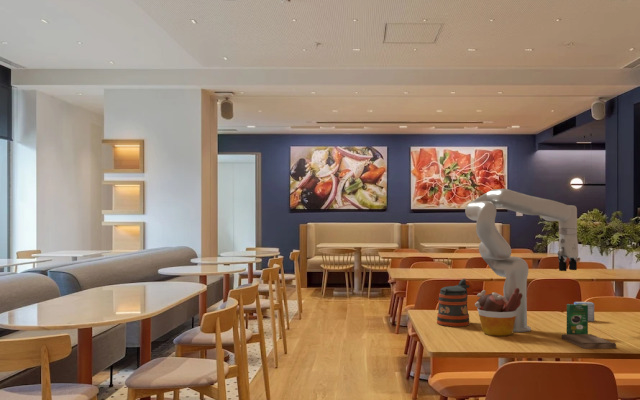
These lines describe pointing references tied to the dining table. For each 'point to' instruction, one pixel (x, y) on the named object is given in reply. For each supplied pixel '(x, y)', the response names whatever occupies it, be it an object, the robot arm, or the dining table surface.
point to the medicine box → (590, 309)
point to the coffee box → (577, 319)
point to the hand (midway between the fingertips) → (567, 270)
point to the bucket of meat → (498, 312)
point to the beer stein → (453, 306)
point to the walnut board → (588, 341)
